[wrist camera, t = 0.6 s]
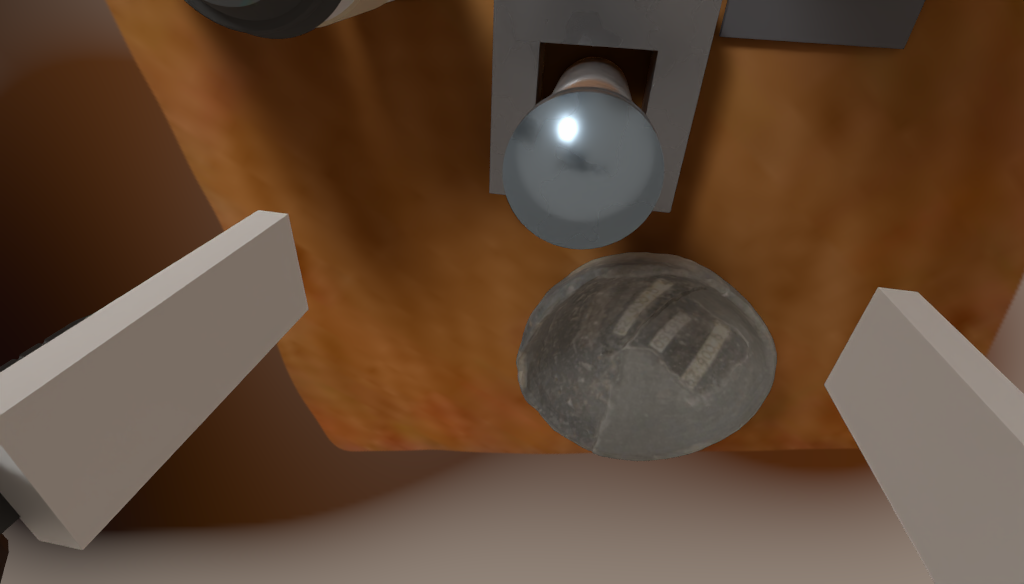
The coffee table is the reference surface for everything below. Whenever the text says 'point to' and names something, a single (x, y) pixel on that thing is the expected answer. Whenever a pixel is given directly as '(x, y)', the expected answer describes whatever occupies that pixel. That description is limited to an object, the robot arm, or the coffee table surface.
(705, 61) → the frame
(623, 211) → the silver domed cylinder
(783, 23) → the mat
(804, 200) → the coffee table surface
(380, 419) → the coffee table surface
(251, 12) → the coffee cup
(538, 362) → the bowl
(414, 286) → the coffee table surface
